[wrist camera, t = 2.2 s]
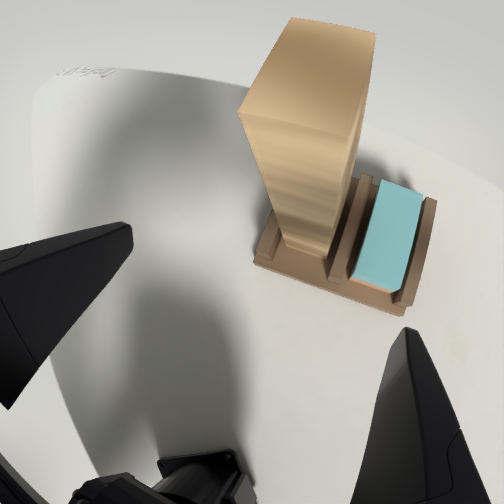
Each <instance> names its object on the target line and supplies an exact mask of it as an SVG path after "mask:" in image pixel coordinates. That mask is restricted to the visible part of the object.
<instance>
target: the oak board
mask: <svg viewBox="0 0 504 504" xmlns="http://www.w3.org/2000/svg"><path fill="white" fill-rule="evenodd" d="M375 38H376V33H373V32H369V31H364V30H360V29H356V28H351V27H347V26H342V25H337V24H332V23H326V22H320V21H314V20H307V19H300V18H291V19H290V20H289V22H288V24H287V25H286V27H285V29H284V30H283V32H282V33H281V35H280V37H279V39H278V40H277V42H276V44H275V45H274V47H273V49H272V50H271V52H270V54H269V55H268V57H267V59H266V61H265V62H264V64H263V66H262V68H261V70H260V71H259V73H258V75H257V77H256V79H255V80H254V82H253V84H252V86H251V87H250V89H249V91H248V93H247V95H246V97H245V99H244V100H243V102H242V104H241V106H240V108H239V110H238V115H239V117H240V120H241V122H242V125H243V128H244V130H245V133H246V136H247V138H248V141H249V144H250V146H251V149H252V152H253V154H254V157H255V160H256V163H257V165H258V168H259V171H260V174H261V176H262V179H263V182H264V185H265V187H266V190H267V193H268V196H269V199H270V201H271V204H272V207H273V210H274V213H275V216H276V218H277V221H278V224H279V227H280V230H281V233H282V236H283V239H284V241H285V244H286V246H287V247H290V248H293V249H296V250H299V251H301V252H304V253H307V254H310V255H313V256H316V257H319V258H322V259H324V260H326V259H327V257H328V254H329V251H330V248H331V245H332V242H333V239H334V236H335V233H336V230H337V227H338V224H339V221H340V218H341V215H342V212H343V209H344V205H345V202H346V199H347V195H348V190H349V186H350V182H351V177H352V172H353V168H354V163H355V158H356V154H357V149H358V144H359V139H360V133H361V128H362V123H363V117H364V111H365V105H366V100H367V94H368V88H369V81H370V75H371V68H372V61H373V53H374V46H375Z"/></svg>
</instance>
